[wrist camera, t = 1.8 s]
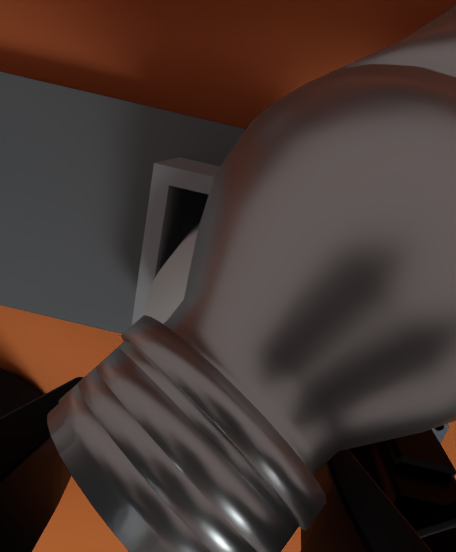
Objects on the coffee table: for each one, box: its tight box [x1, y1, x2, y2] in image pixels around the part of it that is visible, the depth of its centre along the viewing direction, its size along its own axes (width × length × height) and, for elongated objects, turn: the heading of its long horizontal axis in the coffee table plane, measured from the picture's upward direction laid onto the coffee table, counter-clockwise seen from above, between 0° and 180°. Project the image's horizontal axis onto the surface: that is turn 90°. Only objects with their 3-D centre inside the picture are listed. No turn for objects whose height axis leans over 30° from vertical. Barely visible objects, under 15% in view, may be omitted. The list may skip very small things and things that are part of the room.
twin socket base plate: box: [0, 72, 246, 334], centre depth 16 cm, size 11×24×6 cm, turn 78°
